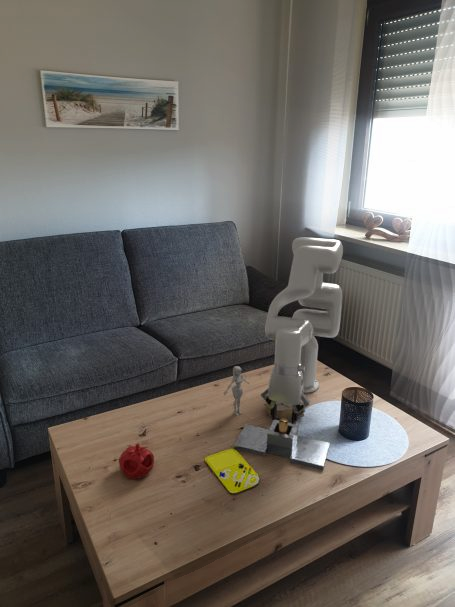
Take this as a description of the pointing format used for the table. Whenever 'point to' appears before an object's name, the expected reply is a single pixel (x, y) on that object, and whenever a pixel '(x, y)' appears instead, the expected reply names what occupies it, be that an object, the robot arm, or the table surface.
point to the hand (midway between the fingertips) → (283, 419)
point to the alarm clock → (285, 411)
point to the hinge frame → (283, 444)
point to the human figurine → (236, 387)
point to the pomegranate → (136, 461)
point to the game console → (232, 471)
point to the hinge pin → (283, 426)
